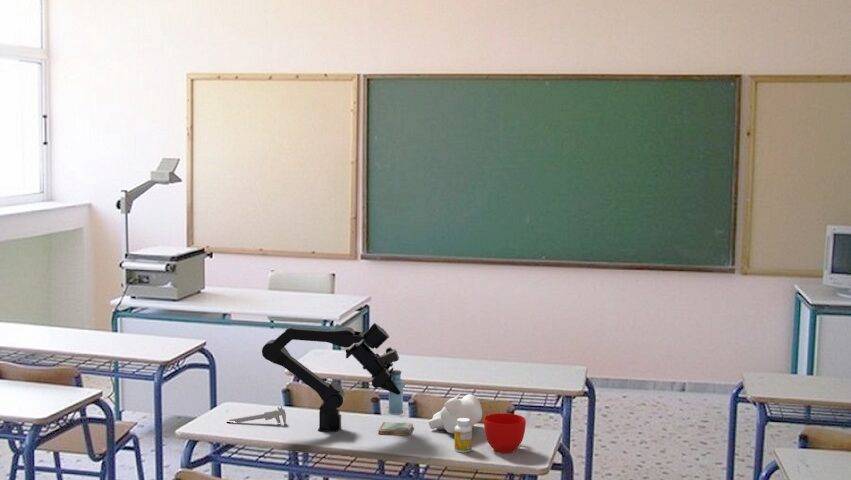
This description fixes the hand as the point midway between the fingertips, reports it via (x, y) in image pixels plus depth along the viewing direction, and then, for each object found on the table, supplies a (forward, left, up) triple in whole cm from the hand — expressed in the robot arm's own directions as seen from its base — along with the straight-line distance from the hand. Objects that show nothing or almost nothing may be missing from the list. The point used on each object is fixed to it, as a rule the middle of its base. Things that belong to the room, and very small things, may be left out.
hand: (400, 391), depth 333 cm
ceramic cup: (+36, -14, -13) cm, 41 cm away
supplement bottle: (+23, -18, -13) cm, 32 cm away
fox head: (+18, +2, -13) cm, 22 cm away
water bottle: (-1, 0, -7) cm, 7 cm away
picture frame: (-1, 0, -13) cm, 13 cm away
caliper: (-49, +1, -14) cm, 51 cm away
